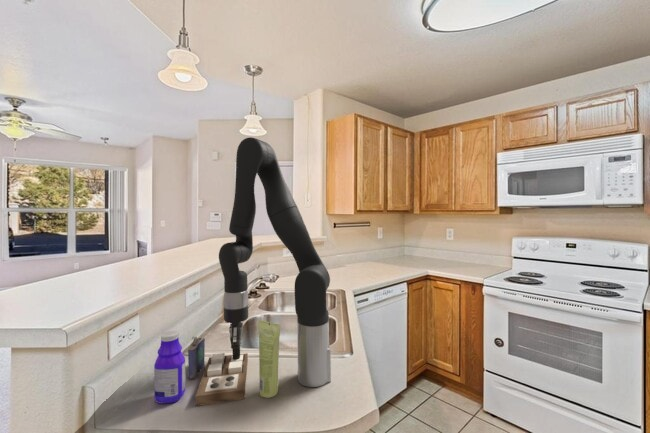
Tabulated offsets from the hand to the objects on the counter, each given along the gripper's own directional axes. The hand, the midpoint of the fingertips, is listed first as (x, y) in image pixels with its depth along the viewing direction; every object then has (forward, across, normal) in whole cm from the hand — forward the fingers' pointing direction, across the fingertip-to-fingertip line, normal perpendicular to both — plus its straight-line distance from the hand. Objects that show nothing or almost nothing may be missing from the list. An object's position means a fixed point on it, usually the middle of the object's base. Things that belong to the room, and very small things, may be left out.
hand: (236, 358), depth 92 cm
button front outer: (+1, -6, +6) cm, 9 cm away
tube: (+3, -16, -10) cm, 19 cm away
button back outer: (+1, 0, +6) cm, 6 cm away
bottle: (+3, -12, +16) cm, 20 cm away
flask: (+3, 0, +12) cm, 12 cm away
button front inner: (+1, -6, 0) cm, 7 cm away
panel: (+3, -7, +3) cm, 8 cm away
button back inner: (+2, 0, 0) cm, 3 cm away
